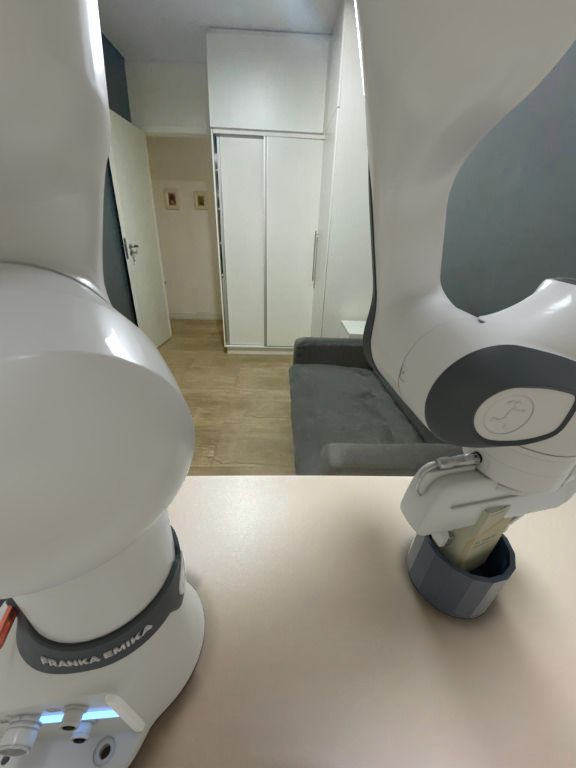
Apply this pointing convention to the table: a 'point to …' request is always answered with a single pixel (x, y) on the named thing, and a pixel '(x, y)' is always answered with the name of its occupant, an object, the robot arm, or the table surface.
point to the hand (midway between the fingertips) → (467, 534)
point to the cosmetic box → (476, 540)
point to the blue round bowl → (459, 577)
